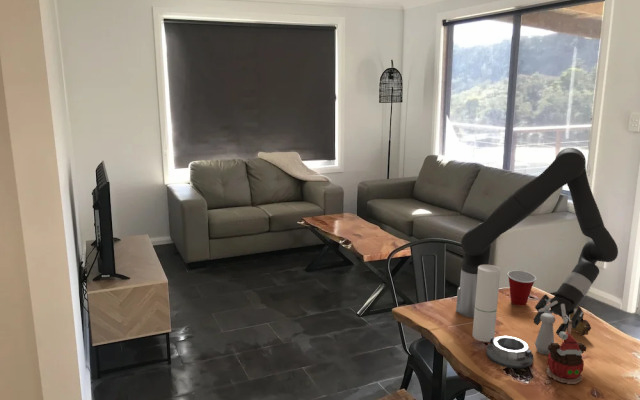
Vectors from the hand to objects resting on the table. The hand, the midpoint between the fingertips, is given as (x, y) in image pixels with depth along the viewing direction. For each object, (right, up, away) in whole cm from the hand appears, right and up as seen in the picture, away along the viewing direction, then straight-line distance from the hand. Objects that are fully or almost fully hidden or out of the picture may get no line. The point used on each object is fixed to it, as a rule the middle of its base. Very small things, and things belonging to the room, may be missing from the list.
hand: (546, 328), depth 164 cm
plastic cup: (+7, 0, +40) cm, 40 cm away
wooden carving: (+18, -5, +18) cm, 26 cm away
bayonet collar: (-13, -8, -2) cm, 15 cm away
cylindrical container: (-17, -6, +11) cm, 21 cm away
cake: (0, -11, -12) cm, 17 cm away
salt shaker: (0, -8, +2) cm, 8 cm away
